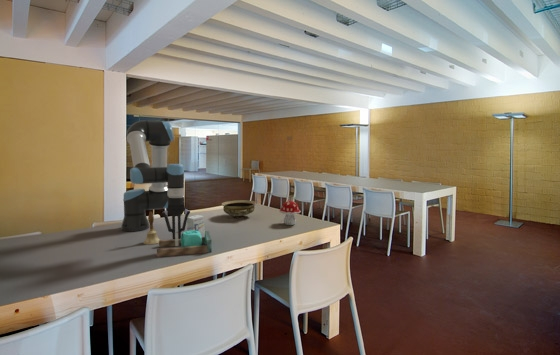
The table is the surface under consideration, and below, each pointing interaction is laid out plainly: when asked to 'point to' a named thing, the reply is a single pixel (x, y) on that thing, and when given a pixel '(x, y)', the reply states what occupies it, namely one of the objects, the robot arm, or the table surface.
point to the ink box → (196, 224)
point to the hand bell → (151, 232)
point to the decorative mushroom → (289, 212)
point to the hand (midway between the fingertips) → (176, 245)
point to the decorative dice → (191, 238)
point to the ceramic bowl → (239, 208)
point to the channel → (184, 250)
